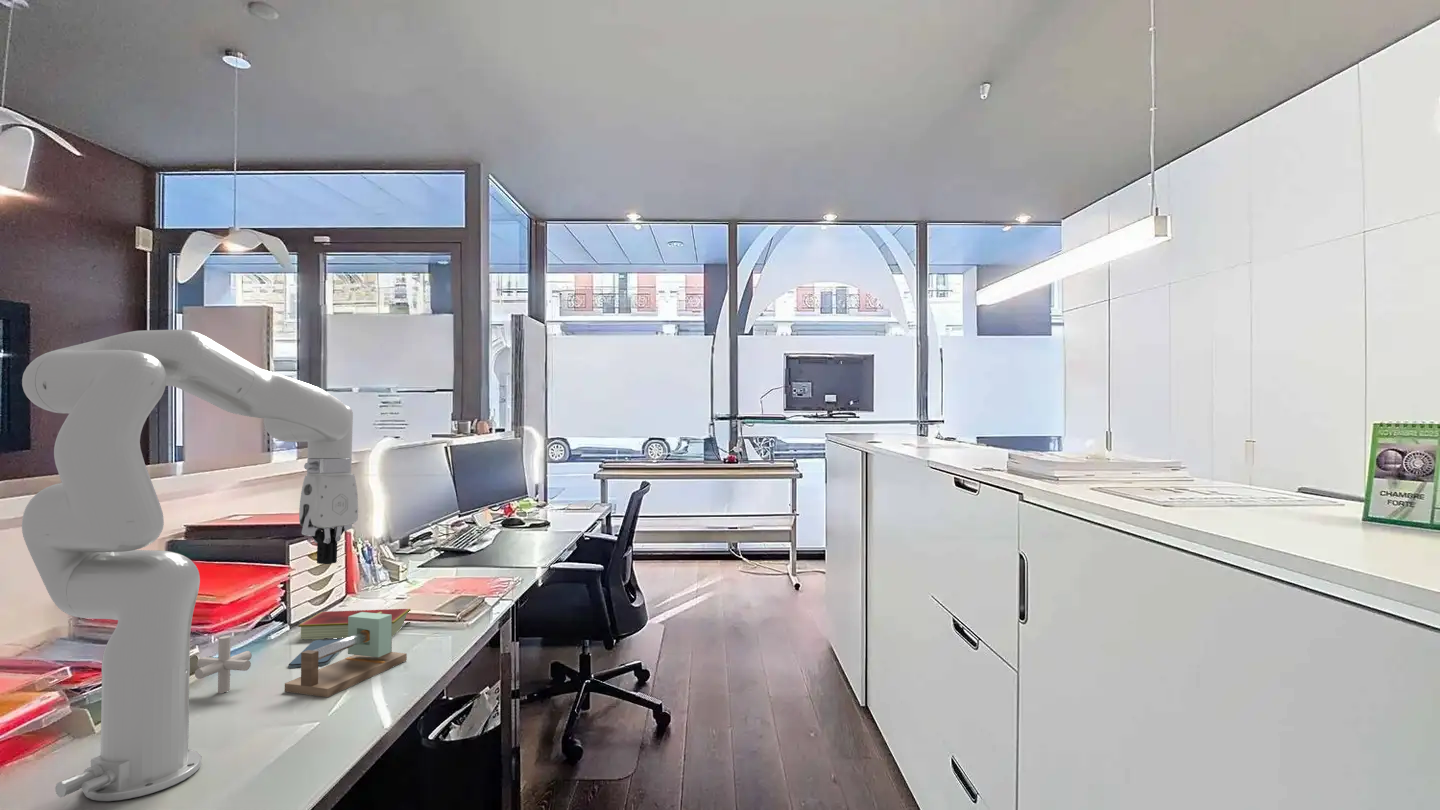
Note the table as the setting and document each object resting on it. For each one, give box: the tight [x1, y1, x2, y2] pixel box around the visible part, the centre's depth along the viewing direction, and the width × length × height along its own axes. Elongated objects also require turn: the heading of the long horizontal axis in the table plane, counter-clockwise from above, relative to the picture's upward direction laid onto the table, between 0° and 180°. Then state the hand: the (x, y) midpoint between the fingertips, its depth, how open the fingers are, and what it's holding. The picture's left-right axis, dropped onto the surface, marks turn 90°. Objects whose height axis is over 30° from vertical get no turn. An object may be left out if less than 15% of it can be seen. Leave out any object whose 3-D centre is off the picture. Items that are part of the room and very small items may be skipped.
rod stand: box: [284, 629, 408, 698], centre depth 136 cm, size 20×10×8 cm, turn 164°
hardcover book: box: [297, 608, 412, 640], centre depth 165 cm, size 12×21×4 cm, turn 97°
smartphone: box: [288, 638, 344, 669], centre depth 148 cm, size 8×2×15 cm
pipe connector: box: [194, 635, 252, 694], centre depth 128 cm, size 10×10×10 cm
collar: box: [347, 612, 393, 657], centre depth 141 cm, size 4×8×8 cm, turn 74°
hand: (326, 563), depth 133 cm, fingers closed
